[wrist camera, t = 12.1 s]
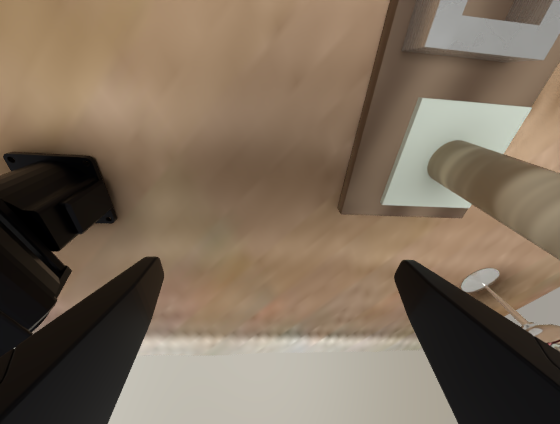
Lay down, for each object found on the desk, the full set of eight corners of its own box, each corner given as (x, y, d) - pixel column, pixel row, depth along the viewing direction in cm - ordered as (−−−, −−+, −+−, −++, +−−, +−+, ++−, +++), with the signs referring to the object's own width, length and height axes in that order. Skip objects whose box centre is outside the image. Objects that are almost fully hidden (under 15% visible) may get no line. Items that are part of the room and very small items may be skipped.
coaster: (379, 202, 21) (382, 205, 21) (418, 97, 16) (422, 97, 16) (465, 205, 22) (469, 208, 21) (525, 106, 17) (532, 107, 17)
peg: (408, 175, 19) (653, 352, 7) (451, 122, 17) (926, 244, 5) (447, 194, 20) (714, 374, 8) (492, 147, 18) (956, 297, 6)
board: (337, 208, 22) (341, 214, 21) (433, -171, 11) (451, -196, 10) (453, 212, 24) (461, 218, 23) (650, -124, 12) (686, -142, 11)
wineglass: (516, 271, 30) (647, 372, 20) (474, 300, 33) (568, 401, 23) (486, 257, 28) (613, 361, 18) (444, 289, 31) (532, 394, 21)
